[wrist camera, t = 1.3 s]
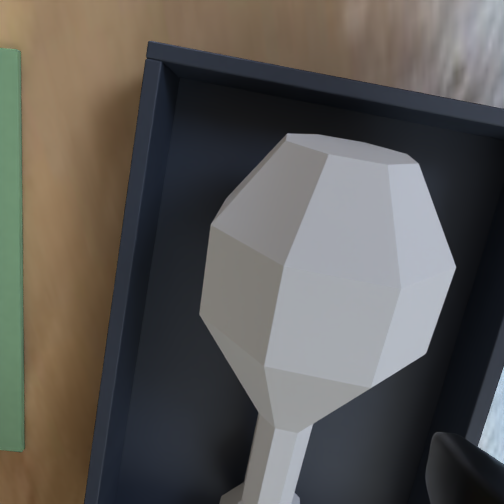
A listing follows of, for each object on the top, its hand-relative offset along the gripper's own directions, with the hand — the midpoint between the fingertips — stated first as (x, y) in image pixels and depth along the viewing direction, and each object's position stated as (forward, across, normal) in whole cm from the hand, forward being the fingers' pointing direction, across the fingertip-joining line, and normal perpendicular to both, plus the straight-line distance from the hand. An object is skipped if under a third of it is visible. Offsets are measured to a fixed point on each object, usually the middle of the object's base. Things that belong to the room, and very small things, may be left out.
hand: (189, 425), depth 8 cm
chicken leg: (+12, -2, +3) cm, 13 cm away
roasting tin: (+12, -2, +3) cm, 13 cm away
